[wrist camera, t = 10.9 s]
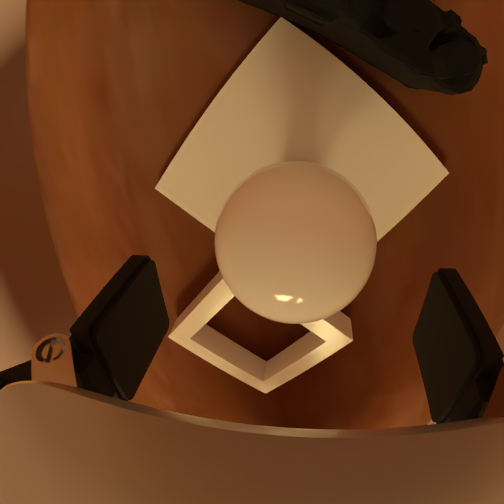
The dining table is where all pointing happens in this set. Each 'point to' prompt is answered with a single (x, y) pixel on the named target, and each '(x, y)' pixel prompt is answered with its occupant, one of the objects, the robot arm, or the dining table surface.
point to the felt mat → (301, 133)
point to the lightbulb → (295, 242)
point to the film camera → (394, 38)
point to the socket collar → (243, 361)
